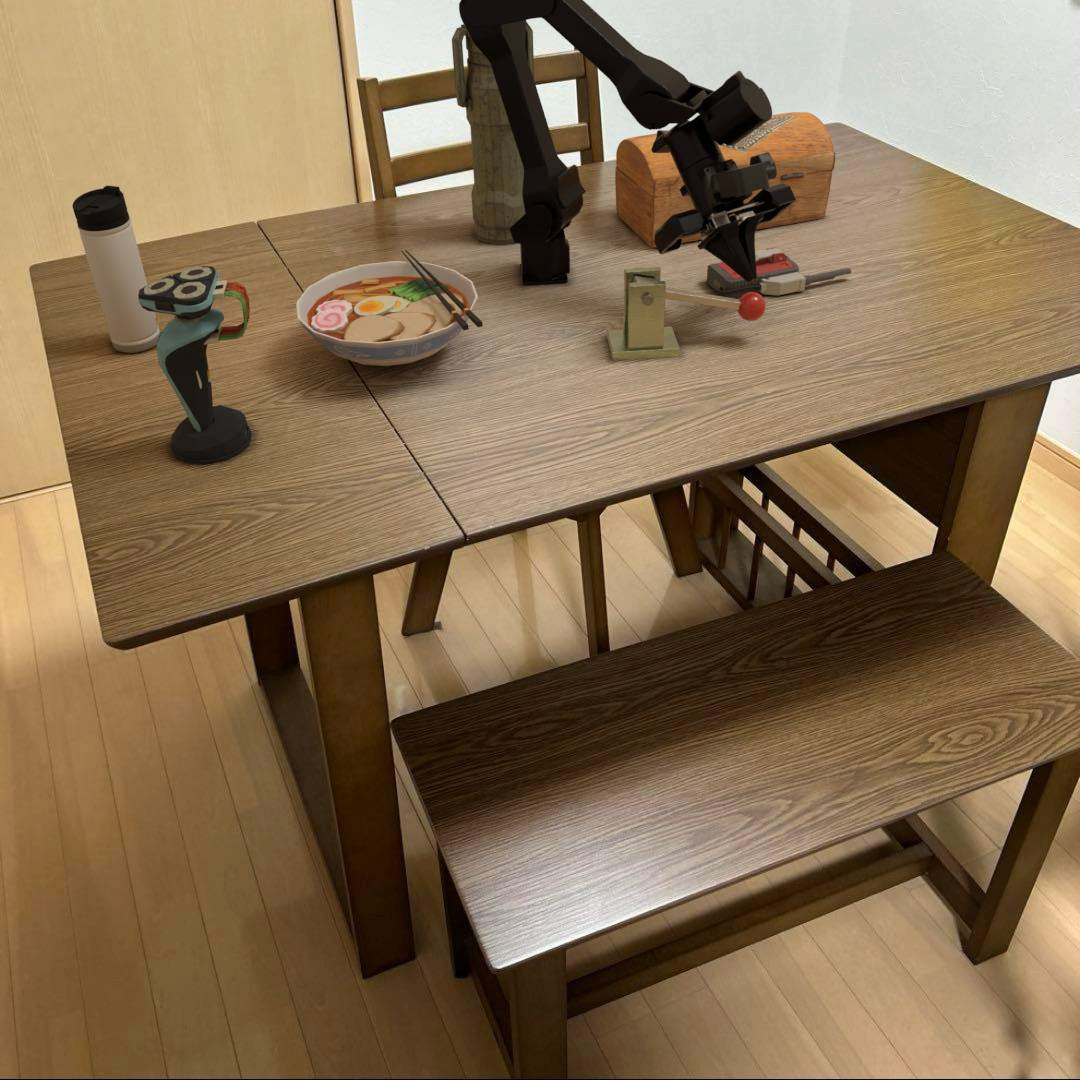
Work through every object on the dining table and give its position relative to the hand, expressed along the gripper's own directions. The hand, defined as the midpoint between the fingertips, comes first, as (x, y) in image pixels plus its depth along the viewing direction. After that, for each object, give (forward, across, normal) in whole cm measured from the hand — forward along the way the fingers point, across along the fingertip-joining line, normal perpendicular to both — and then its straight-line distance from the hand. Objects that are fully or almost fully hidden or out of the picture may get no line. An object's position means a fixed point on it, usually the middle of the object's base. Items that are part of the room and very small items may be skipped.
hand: (752, 280), depth 140 cm
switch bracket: (+2, -12, +10) cm, 16 cm away
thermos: (-28, -8, +40) cm, 49 cm away
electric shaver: (-5, -65, +17) cm, 67 cm away
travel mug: (-26, -66, +39) cm, 81 cm away
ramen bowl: (-11, -39, +23) cm, 46 cm away
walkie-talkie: (-1, +14, +13) cm, 19 cm away
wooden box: (-18, +23, +30) cm, 42 cm away
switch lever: (0, -6, +5) cm, 8 cm away
